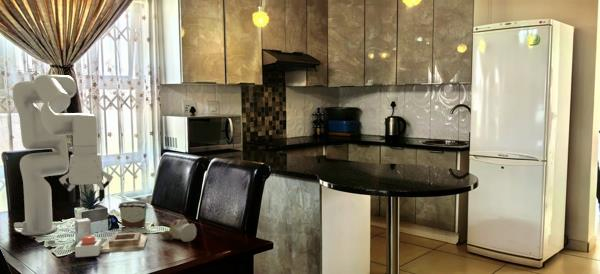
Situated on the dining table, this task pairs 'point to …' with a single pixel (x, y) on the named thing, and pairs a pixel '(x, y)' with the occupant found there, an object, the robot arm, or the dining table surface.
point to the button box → (88, 249)
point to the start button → (88, 240)
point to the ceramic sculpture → (181, 230)
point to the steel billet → (82, 228)
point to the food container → (133, 213)
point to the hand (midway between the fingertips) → (87, 201)
